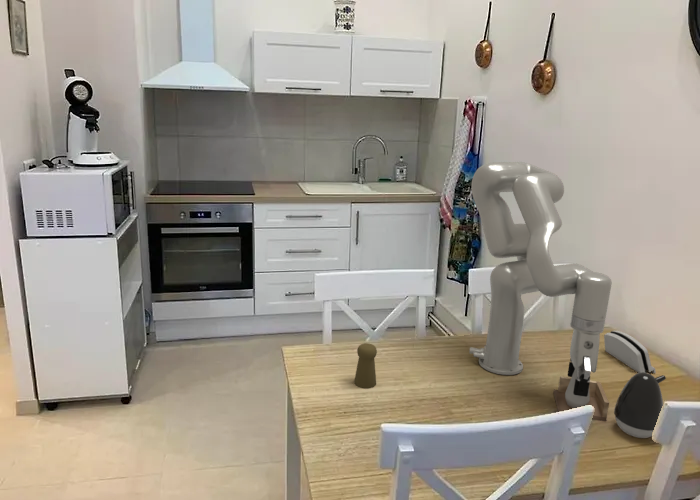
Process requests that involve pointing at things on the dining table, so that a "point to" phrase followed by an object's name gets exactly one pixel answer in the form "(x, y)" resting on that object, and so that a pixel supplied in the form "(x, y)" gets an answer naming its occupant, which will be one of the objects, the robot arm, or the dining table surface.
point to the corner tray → (596, 400)
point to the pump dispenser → (639, 405)
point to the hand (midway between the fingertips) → (576, 385)
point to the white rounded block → (628, 351)
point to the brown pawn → (366, 366)
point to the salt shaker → (573, 399)
